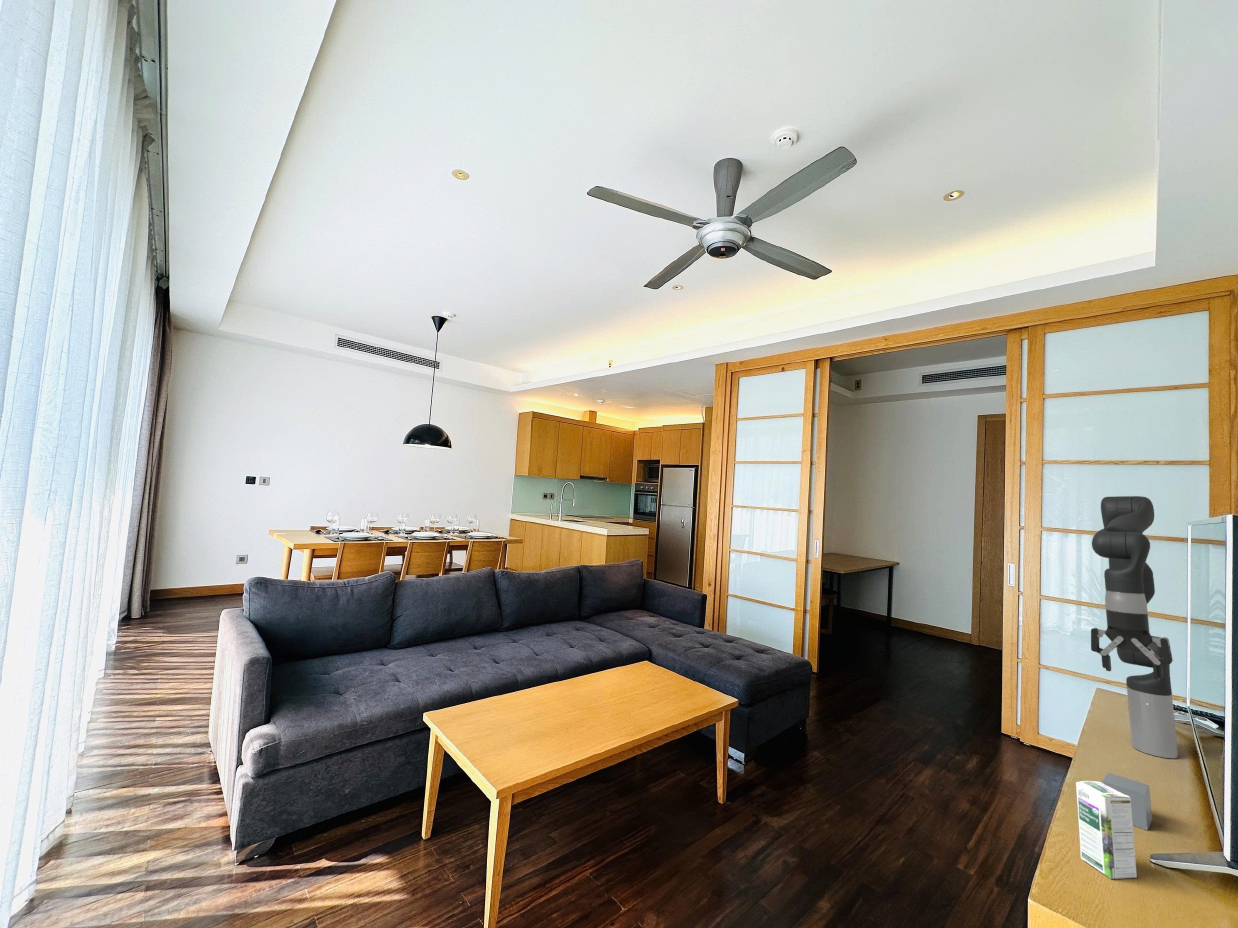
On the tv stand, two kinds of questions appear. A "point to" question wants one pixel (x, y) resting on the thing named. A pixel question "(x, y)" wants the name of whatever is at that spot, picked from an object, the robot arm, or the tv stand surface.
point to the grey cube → (1133, 798)
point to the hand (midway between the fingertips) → (1132, 674)
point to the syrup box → (1106, 829)
